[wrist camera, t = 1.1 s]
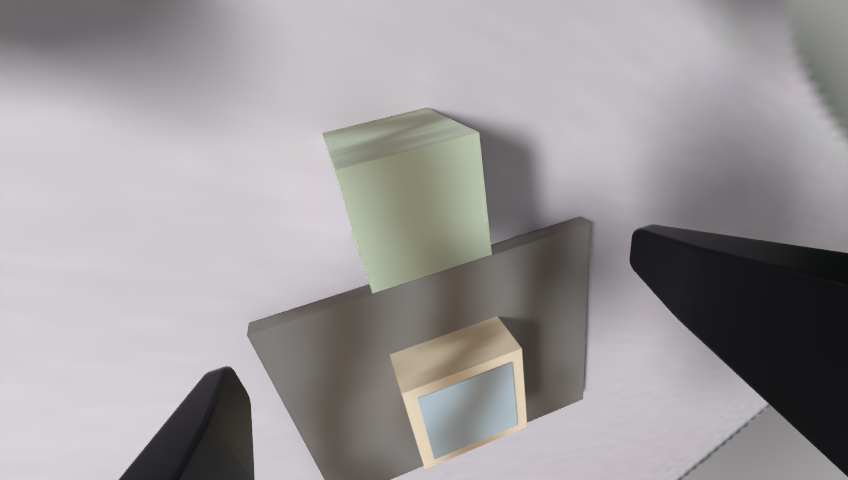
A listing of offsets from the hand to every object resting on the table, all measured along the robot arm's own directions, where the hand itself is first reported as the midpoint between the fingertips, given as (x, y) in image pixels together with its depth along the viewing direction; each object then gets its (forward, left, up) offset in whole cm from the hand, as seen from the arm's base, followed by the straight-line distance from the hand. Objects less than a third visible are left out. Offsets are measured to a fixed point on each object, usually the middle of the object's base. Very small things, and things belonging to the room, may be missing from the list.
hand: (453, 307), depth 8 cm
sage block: (-1, +1, -12) cm, 12 cm away
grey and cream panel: (-2, +15, -12) cm, 19 cm away
